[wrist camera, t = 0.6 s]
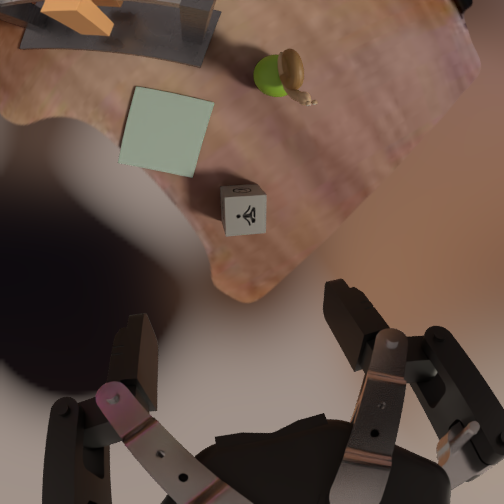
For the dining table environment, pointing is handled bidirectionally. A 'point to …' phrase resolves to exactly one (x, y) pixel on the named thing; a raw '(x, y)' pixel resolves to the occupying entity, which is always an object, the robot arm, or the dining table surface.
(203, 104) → the felt mat
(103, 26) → the c link
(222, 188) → the dice cube
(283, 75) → the snail figurine
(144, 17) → the rail stand
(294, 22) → the dining table surface
